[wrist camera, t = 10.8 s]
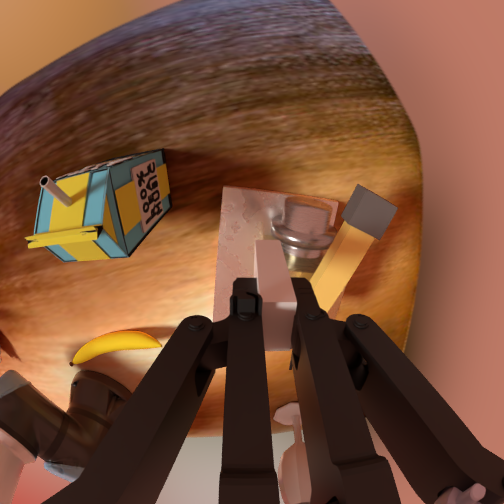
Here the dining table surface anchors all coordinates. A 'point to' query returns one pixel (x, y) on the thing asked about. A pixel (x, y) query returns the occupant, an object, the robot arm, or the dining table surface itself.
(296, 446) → the wineglass
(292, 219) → the valve body
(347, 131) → the dining table surface
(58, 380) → the dining table surface
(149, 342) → the banana
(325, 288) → the lever
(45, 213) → the carton
